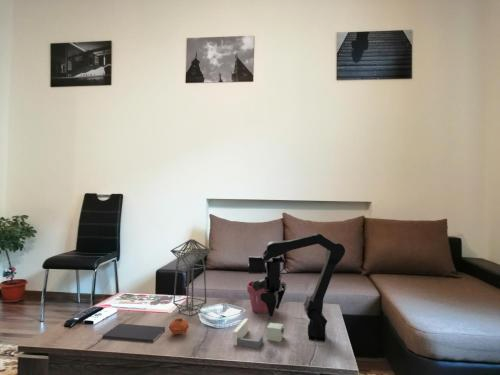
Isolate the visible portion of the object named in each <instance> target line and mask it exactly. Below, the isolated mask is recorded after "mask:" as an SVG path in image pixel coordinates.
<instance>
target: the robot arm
mask: <svg viewBox="0 0 500 375" xmlns="http://www.w3.org/2000/svg"><path fill="white" fill-rule="evenodd" d="M314 245H319V246H321V247H322V248H325V249H326V250H325V251H326V252H325V259H324V260H325V261H324V265H323V267H322V269H321V272H320V275H319V277H318V279H317V282H316V285H315V287H314V291H313V292H312V295H310V296H308V295H306V297H305V298H306V299H305V302H304V303H303V306H304V308H303V309H304V312H305V314H306V316H307V318H308V320H309V322H308V324H307V336H308V340H312V341H319V342H326V339H327V330H326V328H327V323H328V320H327V319H326V316H325V315H324V314H323V309H324V299H325V296H326V293H327V290H328V288H329V285H330V282H331V279H332V277H333V274H334V272H335V269H336V267H337V265H338V264H339V263H340V262H341V261H342V259H343V257H344V255H345V254H346V248H345V247H344V245H343V244H341V243H340V242H338V241H336V240H335V241H331V240H330V239H328V238H327V237H326V236H324V235H323V234H321V233H319V232H316V233H315V232H314V233H313V234H308V235H305V236H300V237H297V238H293V239H289V240H271V241H269V242H267V244H266V246H265V251H264V252H263V253H262V254H261V256H252V255H251V256H250V255H249V256H248V265H247V267H248V269H247V273H248V275H250V274H251V275H254V274H257V275H259V274H260V275H261V274H263V273H264V272H265V271H266V275H265V277H264V278H262V279H257V280H253V281H254V282H253V284H252V285H253V287H252V288H253V289H254V290H255V291H258V290H260V289H264V290H265V291H264V292H263V293H262V294H261V295H260V300H262V302H264V303H266V305H267V308H268V312H267V313H268V315H269V317H271V318H272V317H273V316H274V313H275V311H276V310H279V308H280V305H281V304H282V301H283V298H284V296H285V293H286V290H287V284H286V282H285V281H282V280H281V279H282V278H283V274H282V271H281V270H282V269H281V268H282V265H281V264H282V263H283V264H284V263H286V260H285V258H283V256H282V255H284V254H286V253H287V252H291V251H294V250H298V249H301V248H306V247H310V246H314ZM266 290H269V291H266Z"/></svg>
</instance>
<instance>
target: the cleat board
mask: <svg viewBox="0 0 500 375" xmlns="http://www.w3.org/2000/svg"><path fill="white" fill-rule="evenodd" d="M249 322H250V321H249V318H246V317H245V318H244V319H243V320H242V321H241V323H239V324H238V325H237V327H236V328H235V329H234V330H233V331H232V333H233V334H232V339H233V340H232V344H233V345H232V346H238V347H243V348H245V347H246V348H252V349H256V350H257V349H259V348H260V347H261V345H262V344H263V342H264V337H263V336H264V335H261V334H260V335H259V336H258V338H257V339H250V338H244V337H245V336H246V334H248V332H249V324H250V323H249Z"/></svg>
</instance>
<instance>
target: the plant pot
mask: <svg viewBox="0 0 500 375" xmlns="http://www.w3.org/2000/svg"><path fill="white" fill-rule="evenodd" d="M254 281H255V280H252V281H249V282H248V283H246V284H247V293H248V295H249V300H250V306H251V310H252V311H253V312H254V313H257V314H265V313H266V314H267V313H269V312H268V308H267V305H266V303H264V302H262V300H260V295H261V294H262V293H263V292H264V291H265V290H264V289H260V290H258V291H255V290H254V289H253V288H252V287H253V285H252V284H253V282H254ZM266 291H269V290H266Z"/></svg>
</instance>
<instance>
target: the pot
mask: <svg viewBox="0 0 500 375" xmlns="http://www.w3.org/2000/svg"><path fill="white" fill-rule="evenodd" d="M189 326H190V325H189V323H188V322H187V321H186V320H185V319H184V318H181V317H178V318H175V319H174V320H172V321H171V323H170V324H169V326H168V328H169V331H170V332H171V336H172V337H175V335H176V334H177V335H181V334H184V336H186V335H187V332H188V329H189Z"/></svg>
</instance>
